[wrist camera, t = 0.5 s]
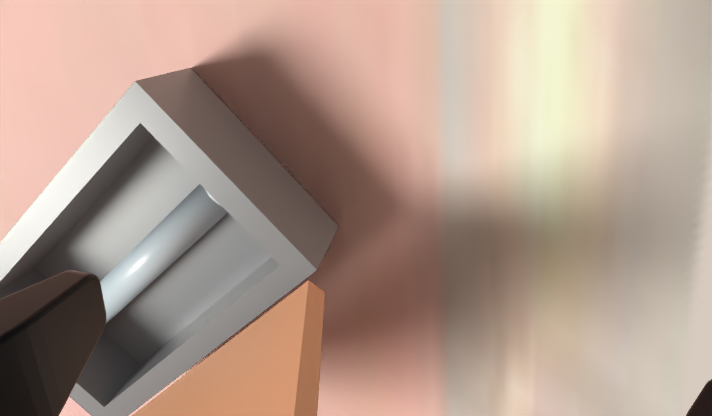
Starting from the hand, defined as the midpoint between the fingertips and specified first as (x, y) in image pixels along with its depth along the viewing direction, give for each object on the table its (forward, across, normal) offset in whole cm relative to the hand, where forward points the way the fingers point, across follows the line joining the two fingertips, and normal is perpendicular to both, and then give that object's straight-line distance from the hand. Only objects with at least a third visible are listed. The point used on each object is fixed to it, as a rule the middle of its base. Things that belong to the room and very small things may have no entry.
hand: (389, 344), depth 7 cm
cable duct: (+13, +10, +9) cm, 19 cm away
